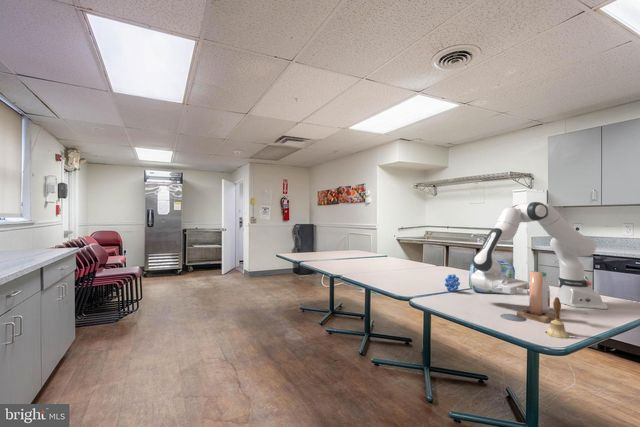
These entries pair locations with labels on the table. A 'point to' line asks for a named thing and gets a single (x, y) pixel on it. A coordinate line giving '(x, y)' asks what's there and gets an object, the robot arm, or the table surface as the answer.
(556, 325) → the hand bell
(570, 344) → the table surface
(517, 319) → the disc
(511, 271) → the lunch box
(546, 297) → the milk bottle
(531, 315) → the pocket block
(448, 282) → the grapes
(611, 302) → the table surface
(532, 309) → the tall peach cylinder
